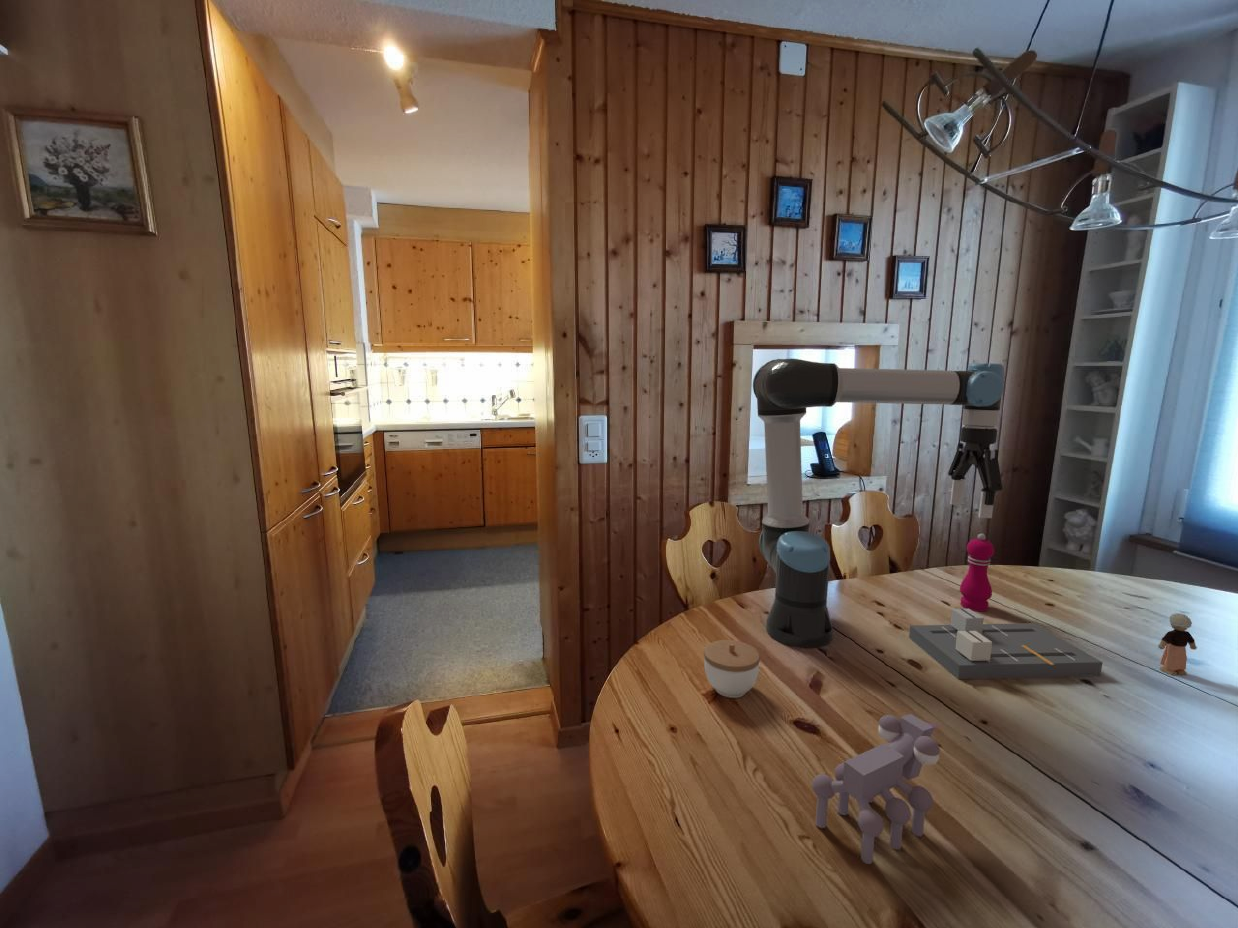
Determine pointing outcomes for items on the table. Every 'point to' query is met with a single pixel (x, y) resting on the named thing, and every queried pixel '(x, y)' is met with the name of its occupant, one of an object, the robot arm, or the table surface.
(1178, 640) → the grandmother figurine
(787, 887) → the table surface
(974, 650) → the fader front
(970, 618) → the fader rear
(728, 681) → the lidded jar
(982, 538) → the pepper mill
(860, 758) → the toy sheep
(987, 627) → the console
